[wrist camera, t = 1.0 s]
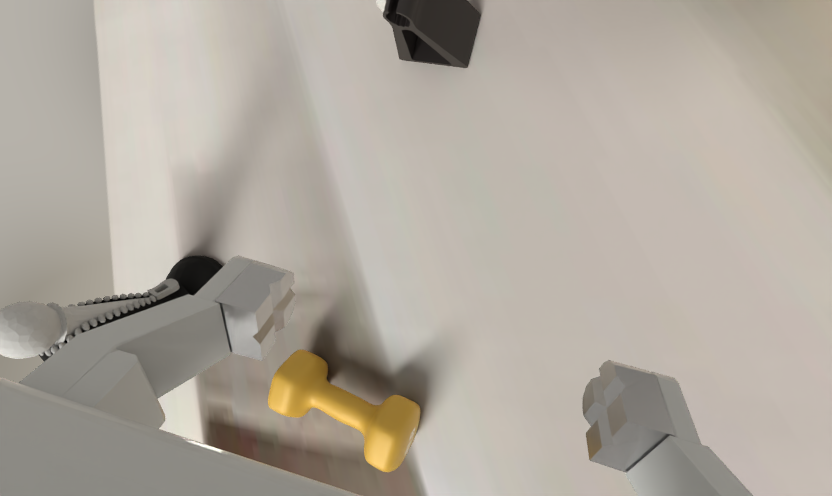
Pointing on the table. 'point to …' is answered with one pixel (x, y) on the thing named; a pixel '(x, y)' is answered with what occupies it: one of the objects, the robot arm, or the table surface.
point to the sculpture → (91, 311)
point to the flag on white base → (381, 4)
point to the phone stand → (433, 30)
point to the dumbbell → (346, 409)
